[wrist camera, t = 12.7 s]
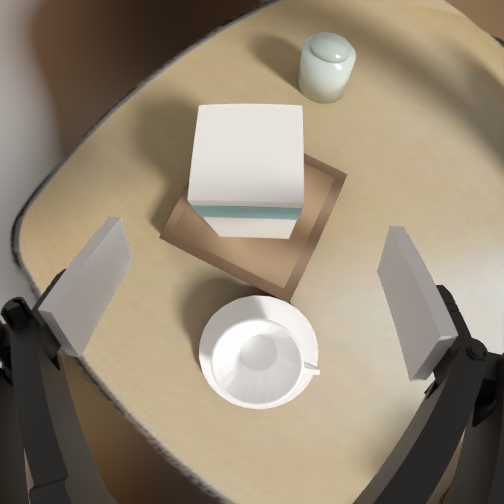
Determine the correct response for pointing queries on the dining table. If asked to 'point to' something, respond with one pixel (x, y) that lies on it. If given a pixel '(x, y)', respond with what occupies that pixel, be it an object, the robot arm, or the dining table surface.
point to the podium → (262, 249)
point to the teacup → (258, 352)
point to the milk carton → (248, 169)
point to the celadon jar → (325, 67)
